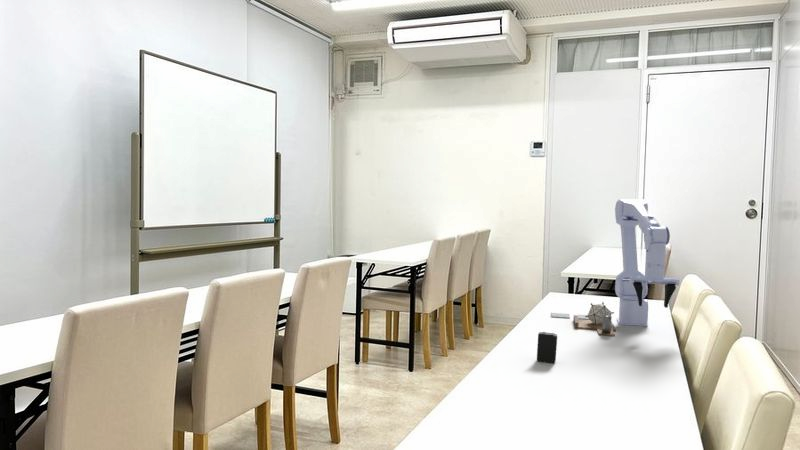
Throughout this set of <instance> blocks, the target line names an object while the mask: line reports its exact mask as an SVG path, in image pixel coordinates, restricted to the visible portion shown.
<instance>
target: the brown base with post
mask: <svg viewBox="0 0 800 450" xmlns="http://www.w3.org/2000/svg"><path fill="white" fill-rule="evenodd" d="M577 315H578V314H576V315H575V314H573V324H574V329H577V330H589V331H590V330H592V331H597V332H596V333H597V334H598V336H604V337H606V336H607V337H616V334H615V332H616V331H617V330H616V327H615V325H614V323H613V321H612V315H611V316H609V315H603V316H602V325H595V324H594V323H593V322H592V321H591V320H582V319H578V316H577Z"/></svg>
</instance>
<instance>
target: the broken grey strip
mask: <svg viewBox="0 0 800 450" xmlns="http://www.w3.org/2000/svg"><path fill="white" fill-rule="evenodd" d="M550 314H551V315H550V316H551V318H555V319H556V318H557V319H568V320H569V319H571V317H570V313H561V312H560V313H559V312H551V313H550ZM576 315H577V319H581V320H590V319H589V318H588V317H585V316H587V315H588V314H576Z"/></svg>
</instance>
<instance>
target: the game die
mask: <svg viewBox="0 0 800 450" xmlns="http://www.w3.org/2000/svg"><path fill="white" fill-rule="evenodd" d="M590 305H591V306H590V308H589V310H588V313H587V314H586V315H587V316H585V317H588V318H589V319H590V320H591V321H592V322H593V323H594V324H595V325H602V316H603V315H609V316H612V314H613V315H614V313H615V312H614V311H611V310H610V309H609V308H607V306H606V305H605V302H604V301H602V303H597V304H593V303H591V302H590Z"/></svg>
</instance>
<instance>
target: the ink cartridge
mask: <svg viewBox="0 0 800 450" xmlns="http://www.w3.org/2000/svg"><path fill="white" fill-rule="evenodd" d="M557 346H558V334H557V333H555V332H546V331H542V332H540V331H539V332H538V334H537V349H536V361H537V363H546V364H552V365H553V364H555V363H556V360H557Z"/></svg>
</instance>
